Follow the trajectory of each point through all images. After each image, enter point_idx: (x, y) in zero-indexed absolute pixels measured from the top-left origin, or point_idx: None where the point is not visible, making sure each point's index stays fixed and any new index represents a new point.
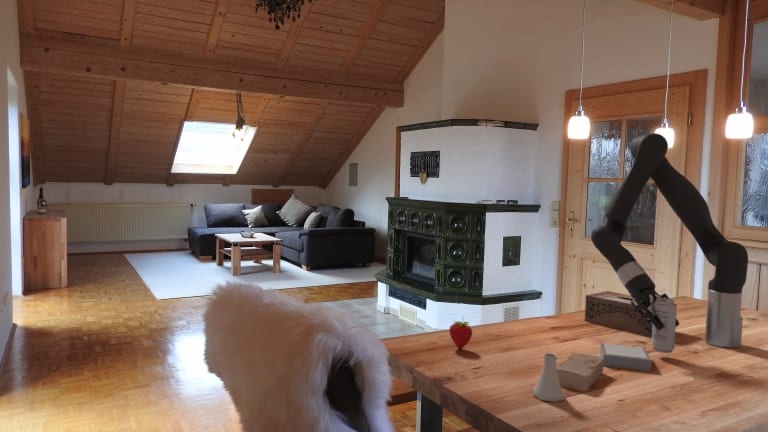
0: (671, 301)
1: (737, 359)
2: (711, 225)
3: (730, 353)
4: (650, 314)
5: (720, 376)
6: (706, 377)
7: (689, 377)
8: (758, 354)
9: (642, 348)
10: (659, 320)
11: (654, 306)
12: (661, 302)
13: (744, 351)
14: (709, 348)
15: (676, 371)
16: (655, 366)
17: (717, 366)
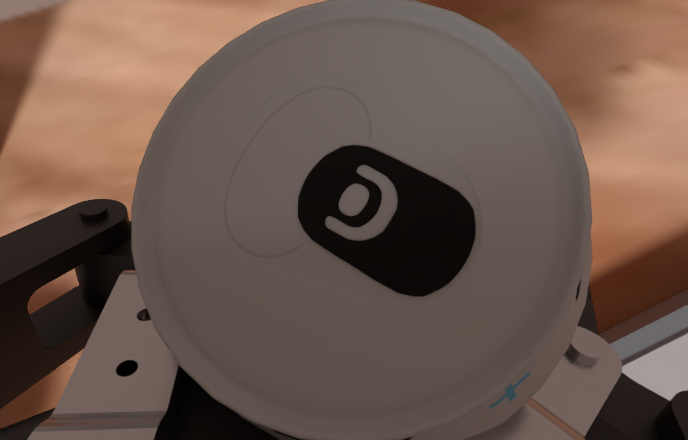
0: (393, 32)
1: (149, 50)
2: None
3: (71, 97)
4: (638, 396)
5: (481, 10)
6: (557, 40)
7: (639, 86)
8: (16, 24)
9: None
10: None
11: (535, 387)
12: (577, 211)
13: (2, 71)
14: (44, 185)
15: (597, 162)
16: (616, 272)
17: None
